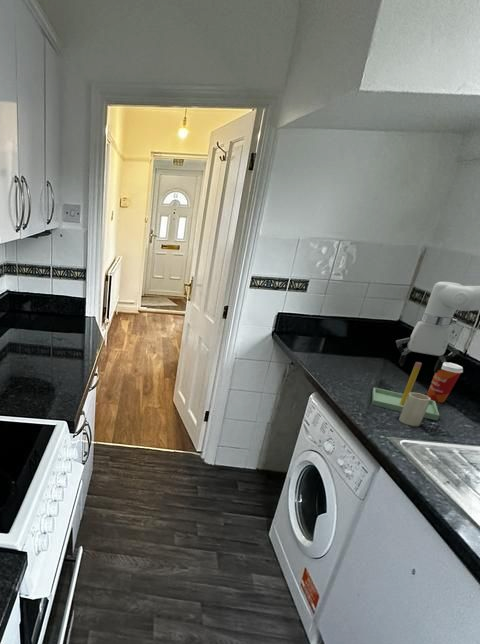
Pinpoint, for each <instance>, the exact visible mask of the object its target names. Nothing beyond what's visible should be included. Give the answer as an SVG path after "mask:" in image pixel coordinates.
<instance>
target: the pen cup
mask: <svg viewBox="0 0 480 644" xmlns="http://www.w3.org/2000/svg"><path fill="white" fill-rule="evenodd" d="M430 400H431V398H430V397H428V396H427V394H423V393H420V392H414V391H413V392H412V391H411V393H409V394H408V396H407V399H406V402H405V404H404V407H403V409H402V412H400V415H399V417H398V421H399V422H400V423H402V424H404V425H407V426H410V427H411V426H412V427H419V426H421V425H422V422H423V419H424V415H425V412H426V410H427V407H428V405H429V403H430Z"/></svg>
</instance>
